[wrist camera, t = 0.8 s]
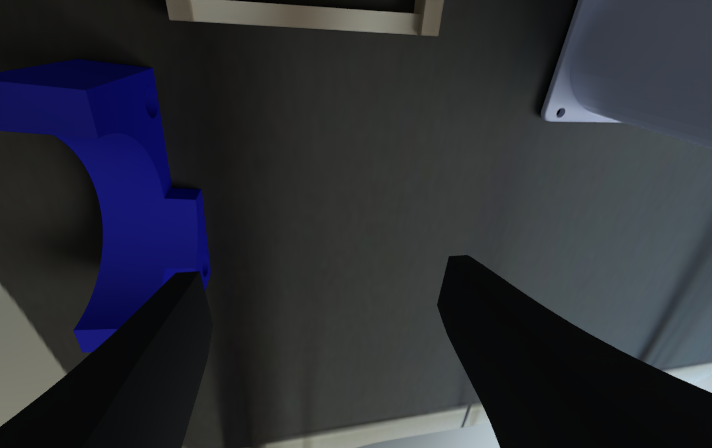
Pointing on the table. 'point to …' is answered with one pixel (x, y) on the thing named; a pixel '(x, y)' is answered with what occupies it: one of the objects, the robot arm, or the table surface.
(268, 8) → the pink framed panel
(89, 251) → the table surface
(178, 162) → the table surface
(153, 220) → the cable clip
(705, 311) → the table surface
